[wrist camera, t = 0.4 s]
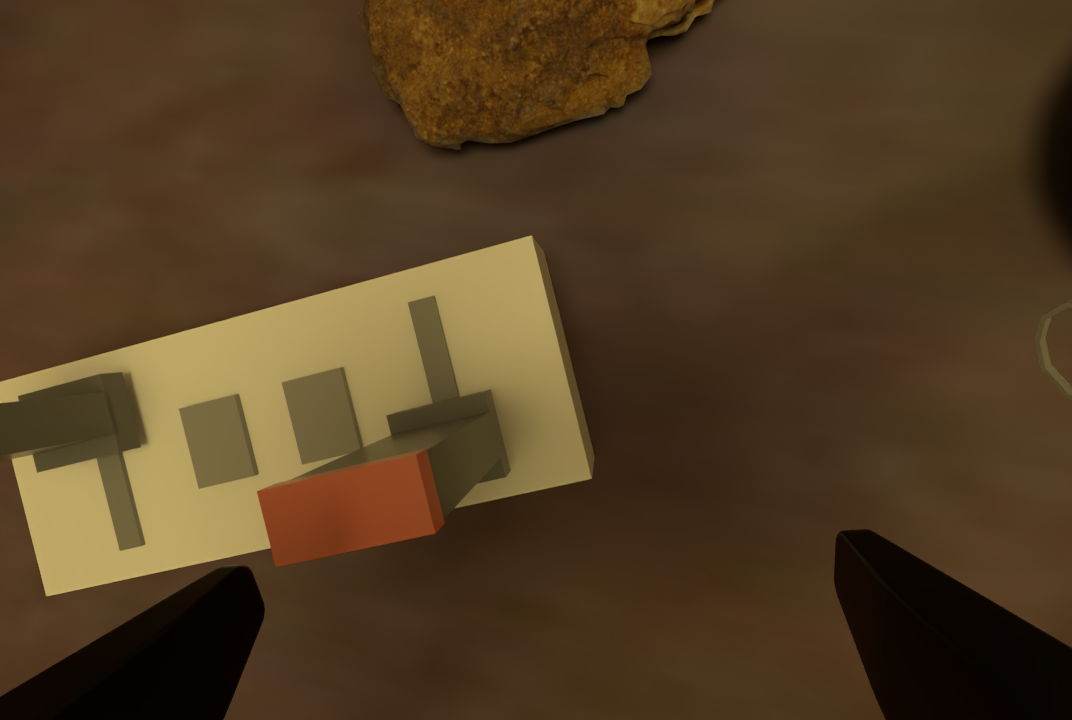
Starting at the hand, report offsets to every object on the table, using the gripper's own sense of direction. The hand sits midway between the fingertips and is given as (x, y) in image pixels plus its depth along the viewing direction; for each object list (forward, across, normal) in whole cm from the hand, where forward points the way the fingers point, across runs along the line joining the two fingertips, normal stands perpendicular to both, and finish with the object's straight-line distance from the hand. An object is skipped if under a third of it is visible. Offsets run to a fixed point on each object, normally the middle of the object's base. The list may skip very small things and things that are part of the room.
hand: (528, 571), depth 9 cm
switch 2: (+12, +4, +4) cm, 13 cm away
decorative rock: (+22, 0, -12) cm, 24 cm away
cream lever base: (+16, +12, +4) cm, 20 cm away
